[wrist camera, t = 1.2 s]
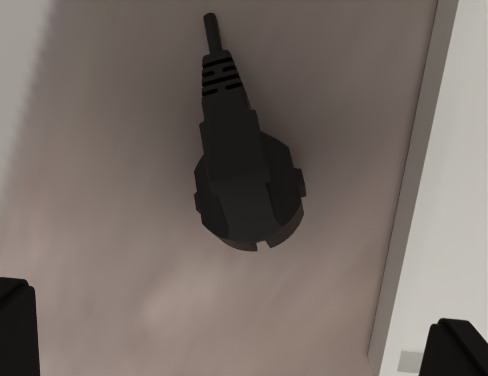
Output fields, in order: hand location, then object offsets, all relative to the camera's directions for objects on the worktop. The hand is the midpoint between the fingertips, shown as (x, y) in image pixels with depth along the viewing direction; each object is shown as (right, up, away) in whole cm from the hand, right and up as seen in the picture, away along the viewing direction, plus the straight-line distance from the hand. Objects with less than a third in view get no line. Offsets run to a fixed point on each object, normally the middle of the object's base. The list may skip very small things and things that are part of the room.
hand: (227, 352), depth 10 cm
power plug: (0, +8, +14) cm, 16 cm away
